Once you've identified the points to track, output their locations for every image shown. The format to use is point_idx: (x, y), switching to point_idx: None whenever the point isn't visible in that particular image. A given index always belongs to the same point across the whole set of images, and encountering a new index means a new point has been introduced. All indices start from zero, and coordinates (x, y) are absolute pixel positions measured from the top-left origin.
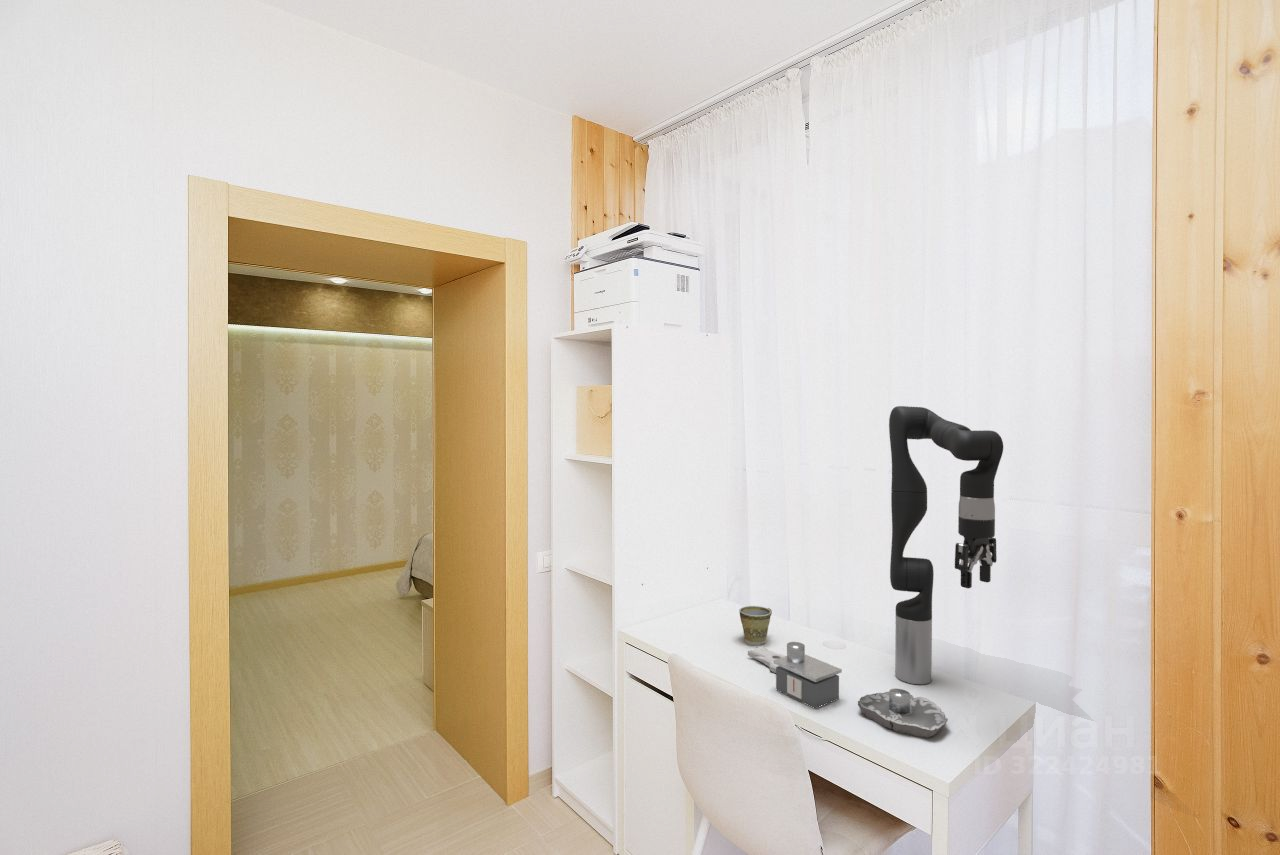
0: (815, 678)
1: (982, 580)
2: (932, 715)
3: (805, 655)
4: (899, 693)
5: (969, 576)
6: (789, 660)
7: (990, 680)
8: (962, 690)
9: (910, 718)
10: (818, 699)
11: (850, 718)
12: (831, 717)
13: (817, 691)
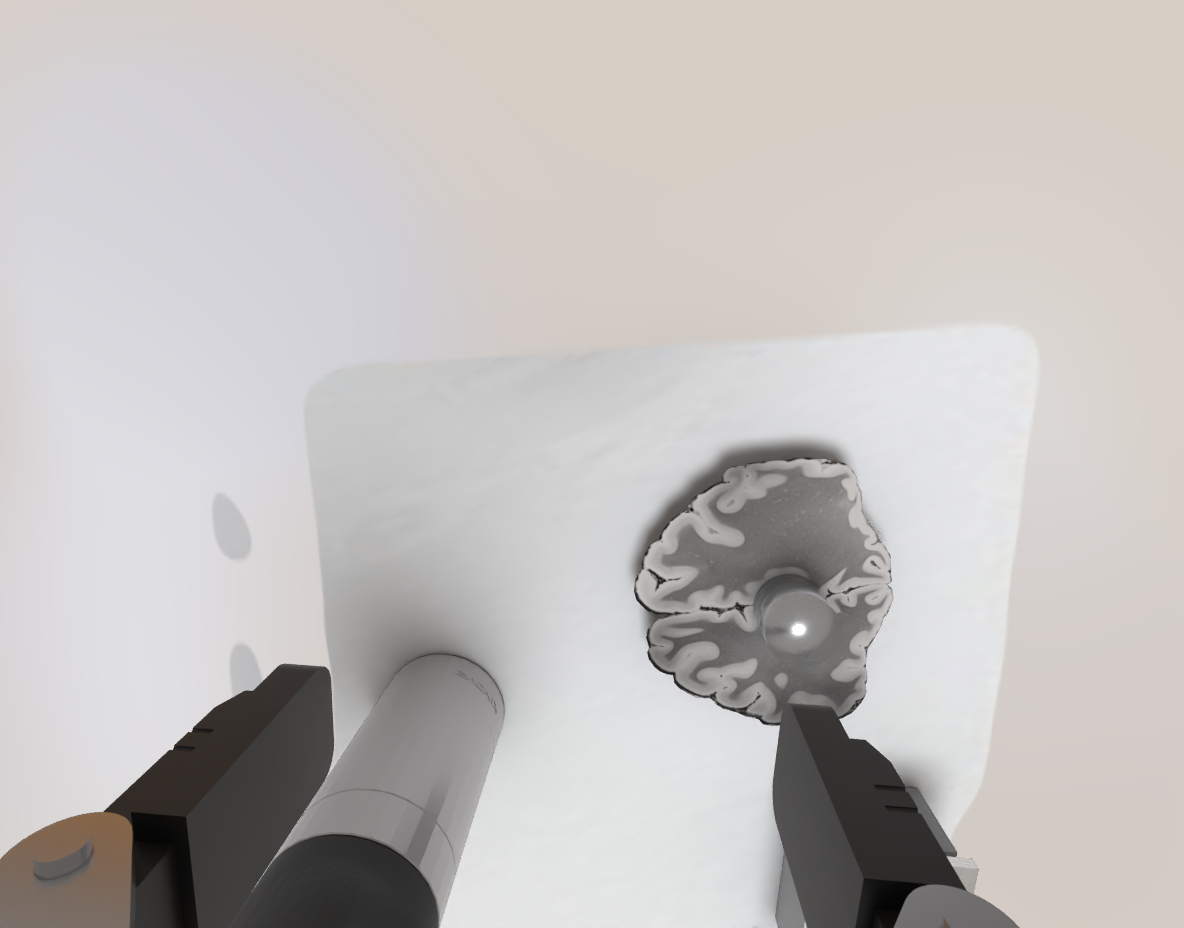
0: (975, 871)
1: (328, 740)
2: (742, 515)
3: None
4: (810, 631)
5: (893, 834)
6: None
7: (234, 532)
8: (397, 558)
9: (822, 551)
10: None
11: (891, 689)
12: (930, 728)
13: (931, 829)
